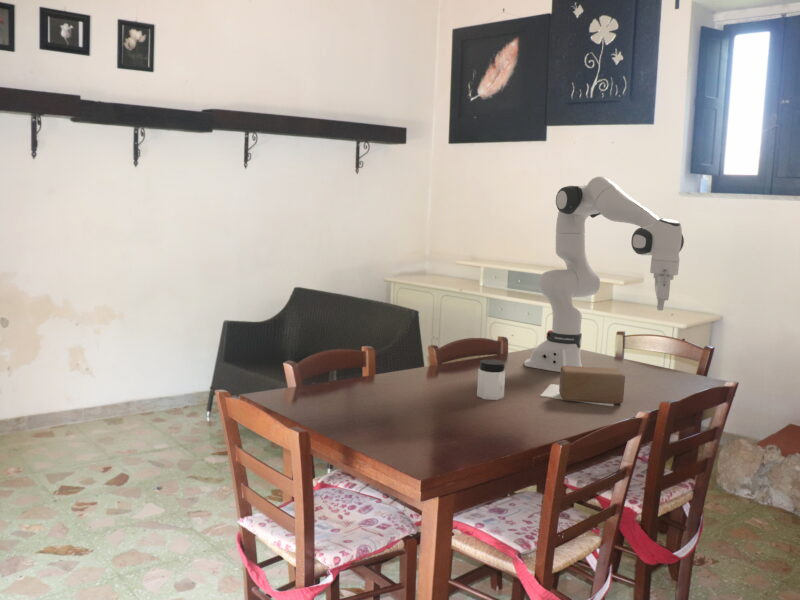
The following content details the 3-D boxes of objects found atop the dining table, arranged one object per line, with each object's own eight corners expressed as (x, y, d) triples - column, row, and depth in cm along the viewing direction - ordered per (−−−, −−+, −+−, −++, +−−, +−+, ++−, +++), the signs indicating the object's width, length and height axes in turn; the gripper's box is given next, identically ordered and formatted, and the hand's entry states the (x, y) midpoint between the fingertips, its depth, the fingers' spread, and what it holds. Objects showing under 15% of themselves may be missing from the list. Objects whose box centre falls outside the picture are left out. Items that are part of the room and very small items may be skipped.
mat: (540, 396, 271) (540, 395, 271) (550, 385, 288) (550, 383, 288) (612, 406, 262) (613, 405, 262) (619, 393, 279) (619, 392, 279)
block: (625, 375, 262) (564, 371, 263) (623, 404, 263) (562, 401, 265) (620, 368, 272) (560, 364, 273) (617, 396, 273) (558, 393, 275)
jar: (494, 401, 262) (496, 366, 260) (473, 397, 267) (475, 362, 265) (507, 396, 269) (509, 361, 268) (486, 392, 274) (488, 357, 272)
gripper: (676, 273, 253) (671, 315, 256) (672, 266, 273) (668, 305, 275) (655, 271, 255) (650, 313, 257) (653, 264, 274) (649, 304, 277)
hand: (660, 309), depth 266 cm, fingers closed
